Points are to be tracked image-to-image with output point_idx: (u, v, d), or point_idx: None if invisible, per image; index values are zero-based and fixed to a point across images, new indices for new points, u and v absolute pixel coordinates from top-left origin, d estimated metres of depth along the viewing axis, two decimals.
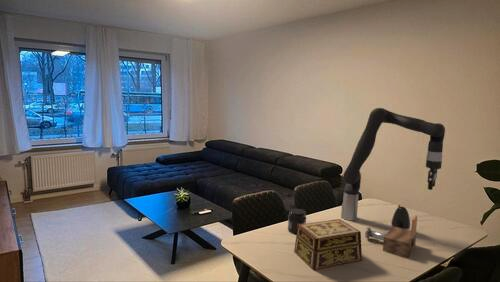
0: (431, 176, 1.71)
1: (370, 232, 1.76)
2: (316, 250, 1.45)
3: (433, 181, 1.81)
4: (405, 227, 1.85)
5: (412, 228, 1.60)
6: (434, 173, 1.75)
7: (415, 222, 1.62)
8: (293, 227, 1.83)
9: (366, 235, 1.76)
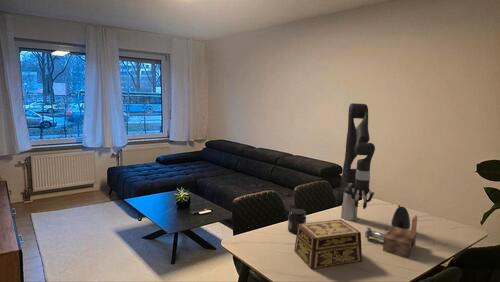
0: (372, 196, 1.75)
1: (370, 232, 1.76)
2: (314, 249, 1.45)
3: (357, 201, 1.80)
4: (405, 227, 1.85)
5: (412, 228, 1.60)
6: None
7: (415, 222, 1.62)
8: (293, 227, 1.83)
9: (366, 235, 1.76)
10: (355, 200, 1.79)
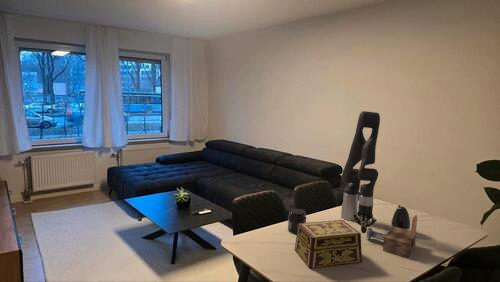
0: None
1: (371, 232, 1.75)
2: (312, 249, 1.46)
3: None
4: (405, 227, 1.85)
5: (412, 228, 1.60)
6: None
7: (415, 222, 1.62)
8: (293, 227, 1.83)
9: (367, 235, 1.75)
10: (361, 226, 1.79)
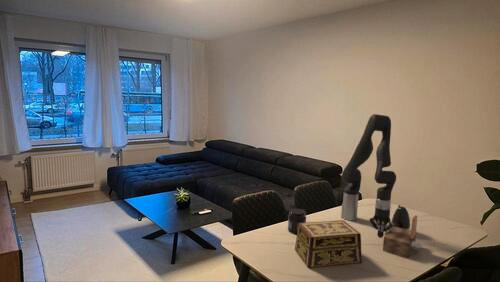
0: (390, 227, 1.70)
1: None
2: (311, 249, 1.46)
3: None
4: (405, 227, 1.85)
5: (412, 228, 1.60)
6: None
7: (415, 222, 1.62)
8: (293, 227, 1.83)
9: None
10: (378, 230, 1.73)
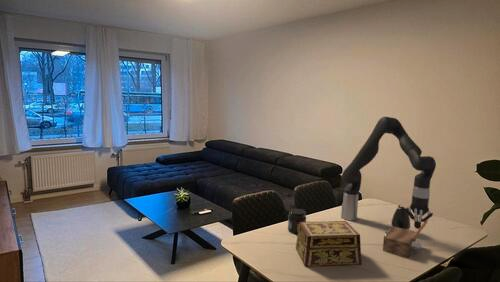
0: None
1: None
2: (308, 247, 1.47)
3: None
4: (405, 227, 1.85)
5: (418, 231, 1.58)
6: None
7: None
8: (293, 227, 1.83)
9: None
10: (415, 221, 1.61)
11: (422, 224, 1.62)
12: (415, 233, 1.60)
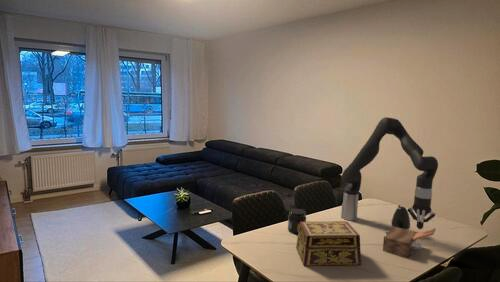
0: (431, 217, 1.58)
1: None
2: (307, 247, 1.48)
3: None
4: (405, 227, 1.85)
5: (423, 236, 1.57)
6: None
7: None
8: (293, 227, 1.83)
9: None
10: (417, 221, 1.61)
11: (428, 230, 1.60)
12: (418, 236, 1.59)
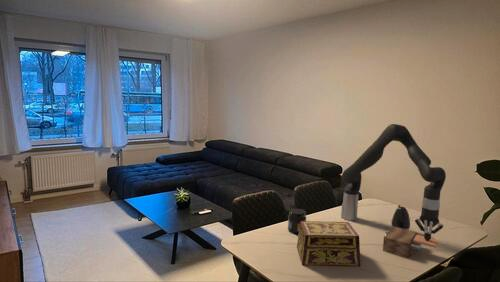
0: (439, 229, 1.56)
1: None
2: (306, 246, 1.48)
3: None
4: (405, 227, 1.85)
5: (425, 243, 1.57)
6: None
7: None
8: (293, 227, 1.83)
9: None
10: (425, 232, 1.59)
11: (432, 240, 1.60)
12: (420, 241, 1.59)
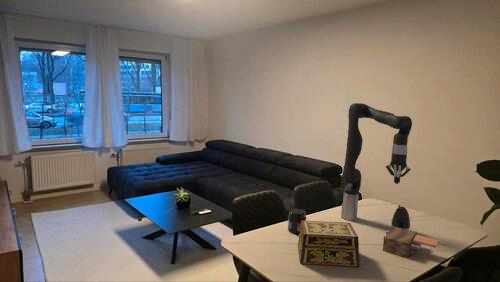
0: (407, 172, 1.72)
1: None
2: (304, 245, 1.49)
3: None
4: (405, 227, 1.85)
5: (425, 243, 1.57)
6: None
7: None
8: (293, 227, 1.83)
9: None
10: (394, 176, 1.75)
11: (432, 240, 1.60)
12: (420, 241, 1.59)
